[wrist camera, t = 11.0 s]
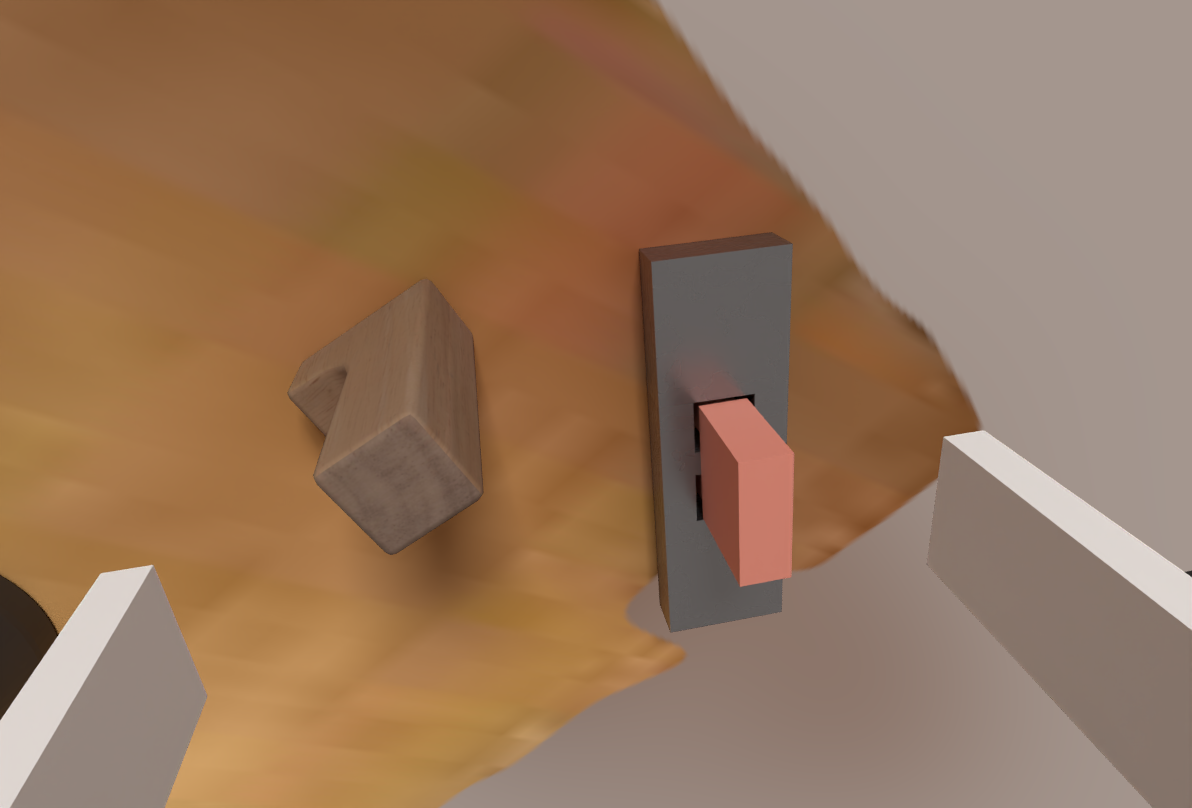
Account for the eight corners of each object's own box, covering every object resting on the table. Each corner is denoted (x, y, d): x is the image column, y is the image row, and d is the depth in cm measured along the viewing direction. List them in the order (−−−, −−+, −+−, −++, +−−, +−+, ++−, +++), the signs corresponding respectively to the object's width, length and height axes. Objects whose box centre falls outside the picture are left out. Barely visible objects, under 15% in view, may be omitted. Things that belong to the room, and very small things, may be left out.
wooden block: (351, 420, 45) (294, 625, 29) (298, 363, 43) (204, 548, 27) (475, 336, 44) (488, 498, 28) (427, 273, 42) (410, 410, 26)
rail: (659, 604, 55) (670, 632, 52) (639, 249, 43) (651, 261, 41) (765, 584, 55) (781, 611, 53) (771, 232, 44) (792, 243, 42)
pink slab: (689, 493, 51) (739, 586, 42) (684, 386, 48) (738, 462, 39) (732, 486, 51) (791, 577, 42) (730, 378, 48) (794, 453, 39)
